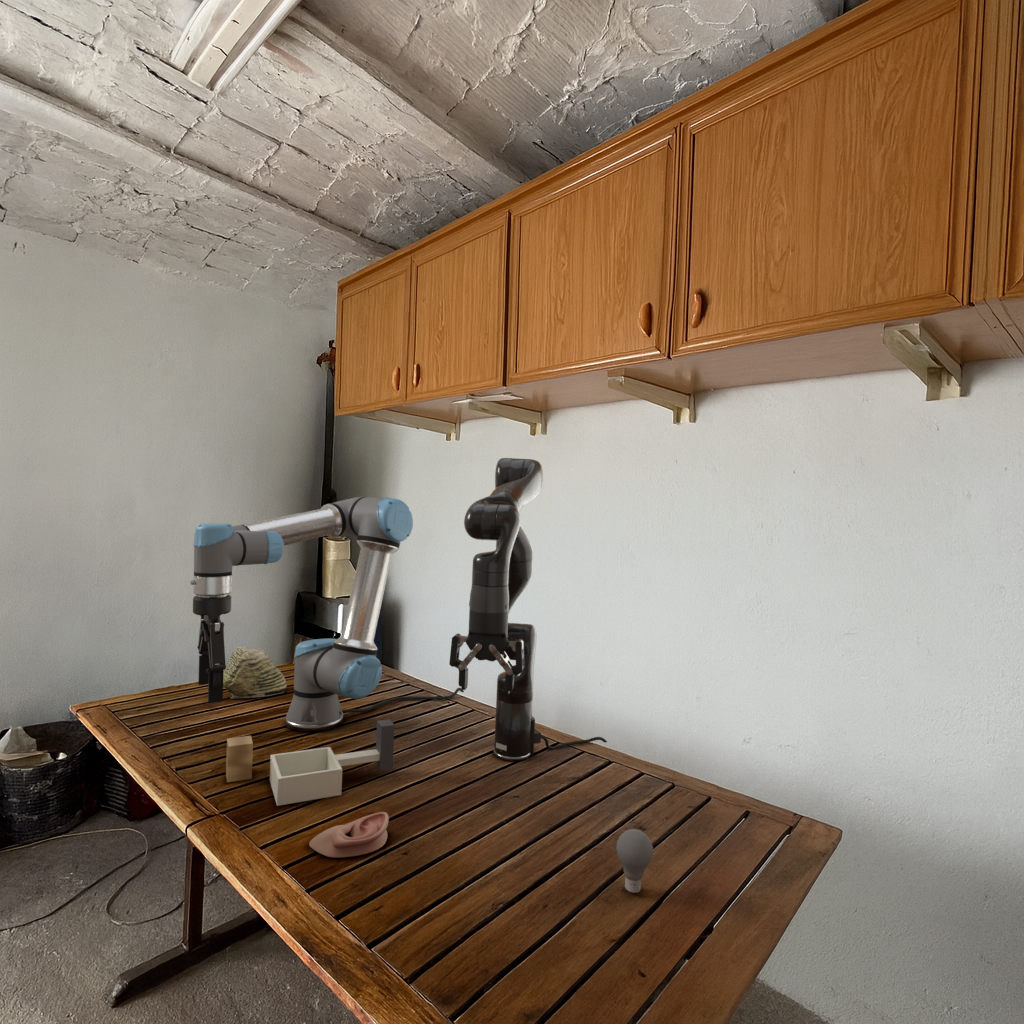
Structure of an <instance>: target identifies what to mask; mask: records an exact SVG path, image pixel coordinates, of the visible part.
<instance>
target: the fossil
mask: <svg viewBox="0 0 1024 1024" xmlns="http://www.w3.org/2000/svg"><path fill="white" fill-rule="evenodd" d="M287 687H288V686H287V680H286V678H285V676H284V674H283V673H282V672H281V669H279V668H278V667H277V665H276V663H275V662H274V660H273V659H272V658H271V657H270V656H269V655H268V654H267V653H266V652H265V650H264V649H263V648H260V647H258V648H251V647H247V646H246V647H245V646H238V647H237V648H236V649H235V650H233V651H232V653H231V656H230V657H229V659H228V660H227V663H226V669H225V670H224V673H223V688H225V690H226V691H228V693H229V698H230V699H250V698H264V697H271V696H275V695H281V694H284V693H285V691H286V689H287Z"/></svg>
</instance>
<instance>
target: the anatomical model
mask: <svg viewBox="0 0 1024 1024" xmlns="http://www.w3.org/2000/svg"><path fill="white" fill-rule="evenodd" d="M389 817H390V816H389V814H388V813H387V812H385V811H380V812H374V813H371V814H369V815H364V816H362V817H360V818H358V819H355V820H353V821H350V822H348V823H345V824H339V825H335V826H332V827H329V828H327V829H325V830H323V831H322V832H320V833H318V834H316V835H315V836H314V837H313V838H312V839H311V840H309V843H308V846H309V847H310V848H311V849H312V850H313V851H315V852H316V853H318V854H320V855H323V856H325V857H327V858H333V859H334V858H335V859H336V858H339V859H340V858H349V857H357V856H362V855H366V854H369V853H373V852H374V851H377V850H379V849H380V848H382V847H383V846H384V845H385V844H386V842H387V839H388V831H387V828H388V825H389V821H390V818H389Z"/></svg>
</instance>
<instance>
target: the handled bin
mask: <svg viewBox="0 0 1024 1024" xmlns="http://www.w3.org/2000/svg"><path fill="white" fill-rule="evenodd" d="M375 740H376V741H375V749H366V750H360V751H353V752H346V753H345V752H344V753H339V754H335V753H334V751H333V749H332V747H331V746H325V747H319V748H311V749H305V750H296V751H289V752H282V753H274V754H270V756H269V758H270V760H269V783H270V787H271V790H272V793H273V797H274V801H275V803H276V807H279V806H285V805H290V804H291V805H292V804H296V803H302V802H308V801H313V800H319V799H320V800H321V799H325V798H326V799H327V798H331V797H336V796H337V797H338V796H342V792H343V791H342V790H343V789H342V788H343V786H342V785H343V768H342V767H347V766H353V765H358V764H360V765H361V764H367V763H373V762H374V764H375V766H376V767H377V768H378V769H379V771H384V770H390V769H393V768H394V745H395V724H394V722H393V721H392V720H391V719H390V718H388V719H380V720H376V737H375Z"/></svg>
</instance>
